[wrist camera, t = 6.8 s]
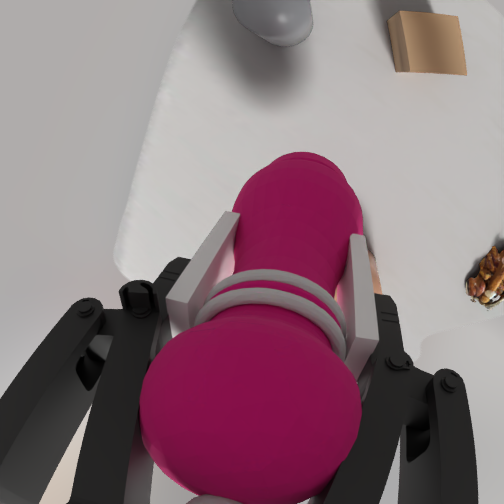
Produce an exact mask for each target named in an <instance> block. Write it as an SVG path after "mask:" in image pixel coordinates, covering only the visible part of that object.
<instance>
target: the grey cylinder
mask: <svg viewBox="0 0 504 504" xmlns="http://www.w3.org/2000/svg"><path fill="white" fill-rule="evenodd" d="M233 11H234V14H235V16H236V18H237V19H238V21H239V22H240V23H241V24H242V25H243V26H244V27H245V28H247V29H249V30H250V31H252V32H254V33H255V34H257V35H258V36H260V37H262V38H263V39H265V40H266V41H268V42H270V43H272V44H274V45H277V46H284V47H287V46H294V45H297V44H299V43H301V42H303V41H304V40H305V39H306V38H307V37H308V36H309V35H310V33H311V31H312V28H313V17H312V11H311V5H310V0H233Z"/></svg>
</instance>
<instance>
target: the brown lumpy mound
mask: <svg viewBox="0 0 504 504" xmlns="http://www.w3.org/2000/svg"><path fill="white" fill-rule="evenodd" d="M479 265H480V272H479V273H478V275H477V277H476V278H471V277H470V278H469V279H468V280H467V282H466V294H467V295H468V296H471V298H472V299H473V300H472V299H471V301H472V302H476V301H475V300H474V299H477V300H478V301H479V303H480V304H481V305H484V306H485V307H486V308H487V309H489V310H492V308H493V307H495V306H496V305H499V304H500V302H501V301H503V300H504V249H503V251H502V252H501V253H500V254H498V250H497V249H496V247H495V246H493V247H492V249H491V251H490V252H489V253H488V254H487V255H486V256H485V257H484V258H483V259H482V261H481V262H480V263H479ZM498 295H500V296H501V297H500V298H499V299H498V300H497V301H494V302H493V300H492V299H491V298H496V297H497V296H498ZM490 299H491V300H490ZM487 311H488V310H487Z"/></svg>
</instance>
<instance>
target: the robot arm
mask: <svg viewBox="0 0 504 504" xmlns="http://www.w3.org/2000/svg"><path fill="white" fill-rule="evenodd" d="M239 218H240V213H234V212H228V211H225V212H224V214H223V215H222V217H221V218H220V219H219V221H218V222H217V224H216V225H215V226H214V228H213V229H212V231H211V232H210V233H209V235H208V236H207V238H206V239H205V241H204V242H203V243H202V245H201V246H200V248H199V249H198V251H197V252H196V253H195V255H194V256H193V258H192V259H186V258H181V257H177V258H176V259H174V260H173V261H171V262H169V263H168V265H167V266H166V267H165V268H164V270H163V272H161V274H160V275H159V277H158V278H157V279H156V280H155V282H154V283H151V282H149V281H145V280H134V281H131V282H128V283H127V284H125V285H124V286H122V287H121V289H120V290H119V295H120V298H121V303H122V306H123V309H103V305H102V304H101V302H100V301H99V300H97V299H95V298H83V299H81V300H79V301H77V302H76V303H74V304H73V305H72V306H71V307H70V308H69V310H68V311H67V312H66V313H65V314H64V316H63V317H62V318H61V319H60V320H59V322H58V323H57V324H56V325H55V326H54V328H53V329H52V330H51V331H50V333H49V334H48V335H47V336H46V338H45V339H44V340H43V341H42V343H41V344H40V345H39V346H38V348H37V349H36V350H35V352H34V353H33V354H32V356H31V357H30V358H29V360H28V361H27V362H26V364H25V365H24V366H23V368H22V369H21V370H20V372H19V373H18V374H17V376H16V377H15V379H14V380H13V381H12V383H11V384H10V386H9V387H8V389H7V390H6V391H5V393H4V394H3V396H2V397H1V399H0V504H39V502H40V500H41V498H42V496H43V494H44V492H45V490H46V488H47V486H48V484H49V482H50V480H51V478H52V476H53V474H54V472H55V470H56V468H57V466H58V464H59V463H60V461H61V459H62V457H63V455H64V453H65V451H66V449H67V447H68V446H69V444H70V442H71V440H72V438H73V436H74V434H75V433H76V431H77V429H78V427H79V425H80V424H81V422H82V420H83V418H84V417H85V415H86V413H87V411H88V410H89V408H90V406H91V404H92V407H91V411H90V414H89V418H88V422H87V426H86V429H85V433H84V437H83V441H82V446H81V450H80V454H79V459H78V463H77V468H76V473H75V478H74V483H73V488H72V493H71V497H70V500H69V502H68V503H67V504H150V493H151V483H152V474H153V464H154V461H153V460H152V458H151V456H150V454H149V453H148V451H147V449H146V448H145V446H144V444H143V440H142V436H141V431H140V423H139V404H140V395H141V390H142V385H143V380H144V377H145V375H146V373H147V371H148V368H149V366H150V364H151V363H152V361H153V360H154V358H155V357H156V356H157V355H158V353H159V352H160V351H161V350H162V348H163V347H164V346H165V345H166V343H167V342H168V341H169V340H171V339H172V338H174V337H175V336H176V335H178V334H179V333H181V332H184V331H186V330H188V329H190V328H192V327H193V326H194V322H195V319H196V316H197V314H198V313H199V312H200V310H201V309H202V307H203V304H204V302H205V299H206V297H207V296H208V294H209V293H210V291H211V290H212V288H213V287H214V286H215V285H217V284H218V283H219V282H221V281H222V280H223V279H225V278H227V277H229V276H231V274H232V272H233V270H234V265H235V261H234V243H235V236H236V231H237V226H238V222H239ZM337 303H338V305H339V306H340V308H341V310H342V312H343V315H344V317H345V322H346V328H347V329H346V338H345V342H346V357H345V361H344V364H345V365H346V366H347V367H348V369H349V370H350V371H351V372H352V374H353V376H354V378H355V380H356V383H357V385H358V387H359V391H360V399H361V407H362V416H361V421H360V426H359V431H358V435H357V438H356V440H355V442H354V444H353V446H352V448H351V450H350V452H349V454H348V455H347V457H346V459H345V460H344V461H342V463H341V464H340V466H339V468H338V470H337V471H336V473H335V475H334V476H333V478H332V479H331V480H330V482H329V483H328V484H327V485H326V487H325V488H324V489H323V490H322V492H321V493H319V494H317V495H315V496H313V497H311V498H310V500H309V502H308V504H379V502H380V499H381V497H382V494H383V491H384V488H385V485H386V482H387V479H388V476H389V473H390V469H391V466H392V462H393V459H394V456H395V452H396V448H397V445H398V441H399V437H400V474H399V493H398V504H478V481H477V465H476V455H475V445H474V437H473V429H472V423H471V416H470V410H469V405H468V399H467V393H466V389H465V384H464V382H463V379H462V378H461V377H460V375H459V374H458V373H456V372H455V371H453V370H450V369H440V370H439V371H437V372H436V373H435V374H434V375H432V374H429V373H427V372H424V371H422V370H420V369H418V368H416V367H415V366H413V361H412V359H411V357H410V356H409V355H408V354H407V353H406V352H404V348H403V341H402V335H401V329H400V324H399V317H398V312H397V307H396V304H395V302H394V301H393V300H392V298H391V297H390V296H388V295H382V294H377V293H374V290H373V282H372V275H371V269H370V262H369V256H368V250H367V244H366V238H365V236H364V235H359V234H352V235H351V236H350V240H349V248H348V255H347V261H346V266H345V270H344V274H343V276H342V278H341V279H340V281H339V283H338V285H337Z"/></svg>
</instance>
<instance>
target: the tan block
mask: <svg viewBox="0 0 504 504" xmlns="http://www.w3.org/2000/svg"><path fill="white" fill-rule="evenodd" d="M387 24H388V29H389V34H390V39H391V45H392V51H393V57H394V63H395V70H396V72H416V73H437V74H453V75H467V70H466V62H465V54H464V48H463V41H462V35H461V30H460V25H459V20H458V16H451V15H444V14H435V13H426V12H414V11H398V12H397V13H396V14H395V15H393V16H392V17H391V18H390V19H389V20H387Z"/></svg>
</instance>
